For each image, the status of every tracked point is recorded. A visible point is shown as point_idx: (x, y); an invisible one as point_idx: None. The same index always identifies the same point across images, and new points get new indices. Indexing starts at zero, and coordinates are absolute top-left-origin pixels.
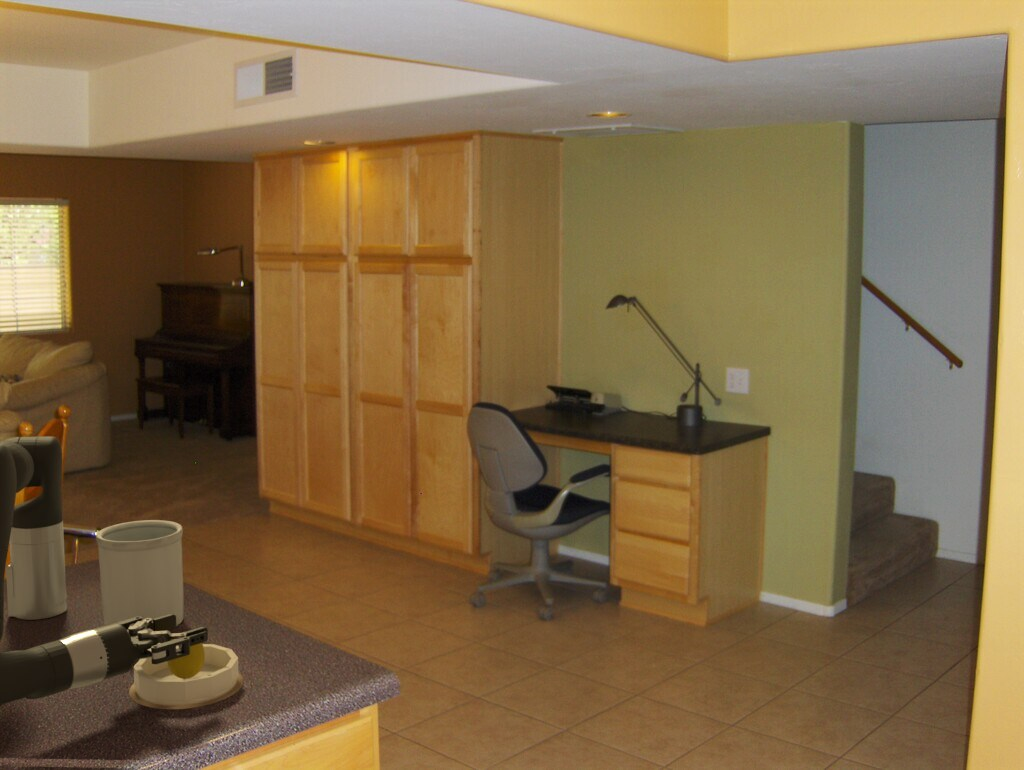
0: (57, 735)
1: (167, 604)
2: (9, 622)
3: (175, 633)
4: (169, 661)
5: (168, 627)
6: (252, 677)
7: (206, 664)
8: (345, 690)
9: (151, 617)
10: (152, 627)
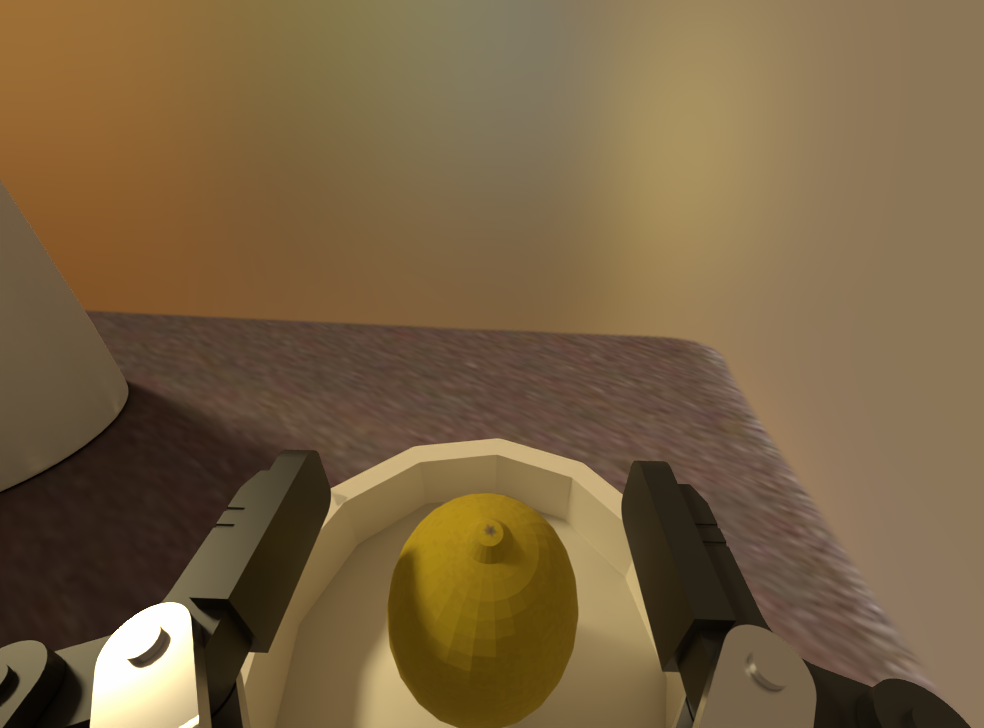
0: None
1: (65, 366)
2: None
3: (708, 708)
4: (470, 725)
5: (308, 536)
6: None
7: (416, 511)
8: (746, 405)
9: (27, 423)
10: (229, 649)
